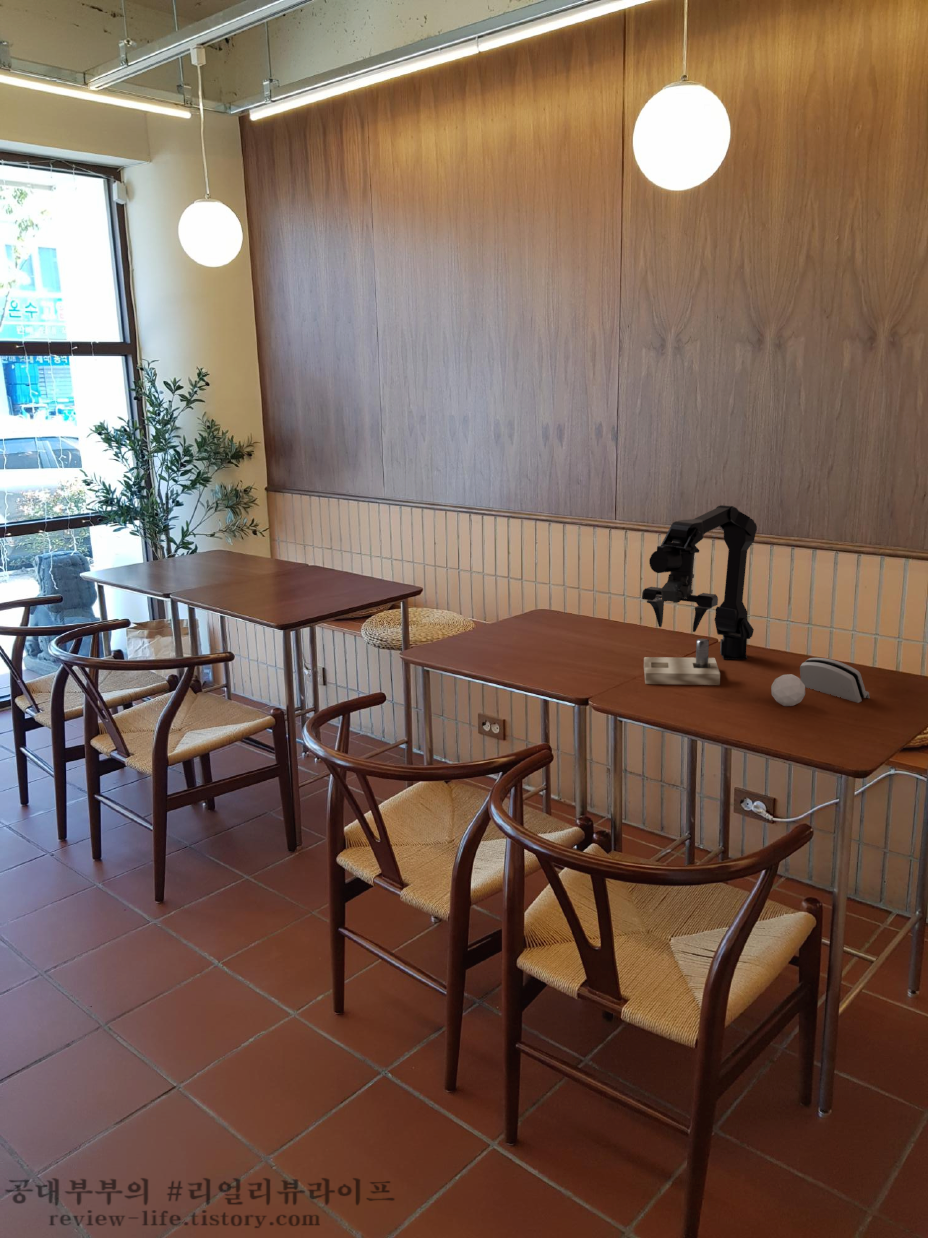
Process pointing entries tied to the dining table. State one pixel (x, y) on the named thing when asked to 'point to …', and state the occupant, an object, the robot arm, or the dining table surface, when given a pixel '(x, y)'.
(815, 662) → the grey napkin holder
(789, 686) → the geometric ball
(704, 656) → the pin
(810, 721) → the dining table surface
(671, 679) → the dock board
